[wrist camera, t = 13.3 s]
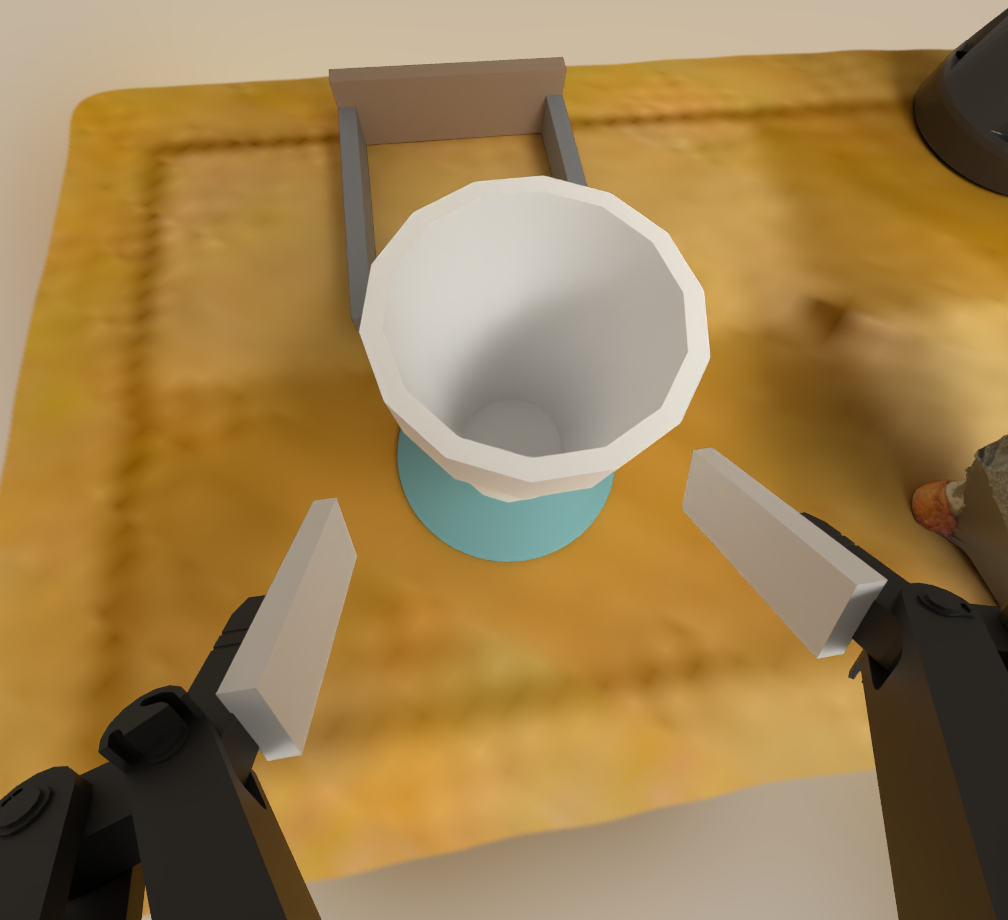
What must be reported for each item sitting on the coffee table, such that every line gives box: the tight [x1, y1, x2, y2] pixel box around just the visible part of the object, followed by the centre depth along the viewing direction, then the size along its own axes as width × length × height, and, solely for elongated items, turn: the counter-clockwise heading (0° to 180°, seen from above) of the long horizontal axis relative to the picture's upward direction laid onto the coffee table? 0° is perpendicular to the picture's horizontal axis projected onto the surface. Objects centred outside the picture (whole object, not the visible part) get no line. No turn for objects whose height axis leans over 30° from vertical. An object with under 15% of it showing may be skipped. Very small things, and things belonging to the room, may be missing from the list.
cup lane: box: [329, 57, 587, 334], centre depth 26 cm, size 16×18×4 cm
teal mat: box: [397, 429, 615, 562], centre depth 23 cm, size 13×13×1 cm
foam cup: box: [359, 175, 710, 502], centre depth 17 cm, size 10×9×13 cm
